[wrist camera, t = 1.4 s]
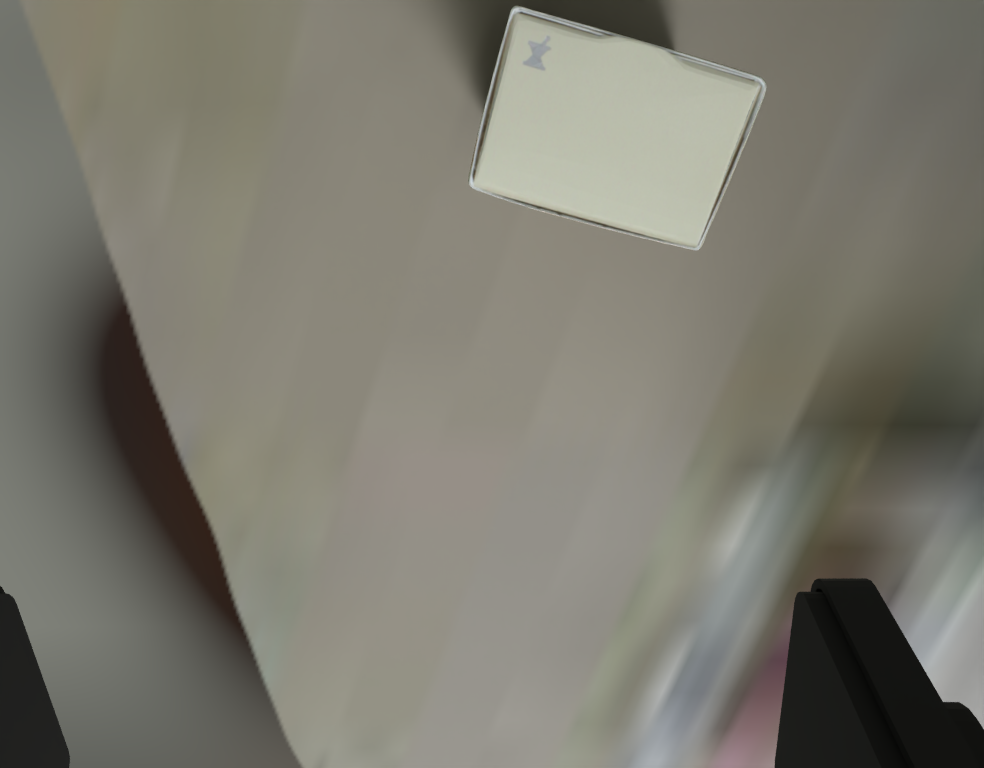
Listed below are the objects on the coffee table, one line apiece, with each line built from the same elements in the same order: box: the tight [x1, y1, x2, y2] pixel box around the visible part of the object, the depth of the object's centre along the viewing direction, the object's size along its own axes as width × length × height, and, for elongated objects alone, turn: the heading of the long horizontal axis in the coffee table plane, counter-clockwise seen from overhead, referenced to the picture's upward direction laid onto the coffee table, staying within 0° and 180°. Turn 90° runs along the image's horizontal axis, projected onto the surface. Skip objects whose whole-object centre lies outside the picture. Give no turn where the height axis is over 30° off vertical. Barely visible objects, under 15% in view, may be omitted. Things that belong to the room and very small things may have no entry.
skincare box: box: [468, 6, 767, 250], centre depth 25 cm, size 6×4×12 cm
